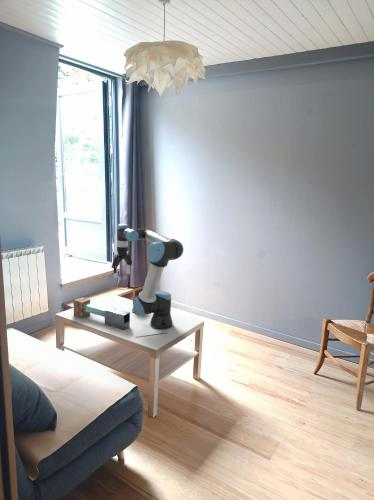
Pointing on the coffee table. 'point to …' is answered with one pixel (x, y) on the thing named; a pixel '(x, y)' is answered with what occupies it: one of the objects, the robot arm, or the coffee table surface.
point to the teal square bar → (94, 309)
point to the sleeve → (117, 318)
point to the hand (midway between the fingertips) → (122, 275)
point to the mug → (132, 300)
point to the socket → (80, 307)
